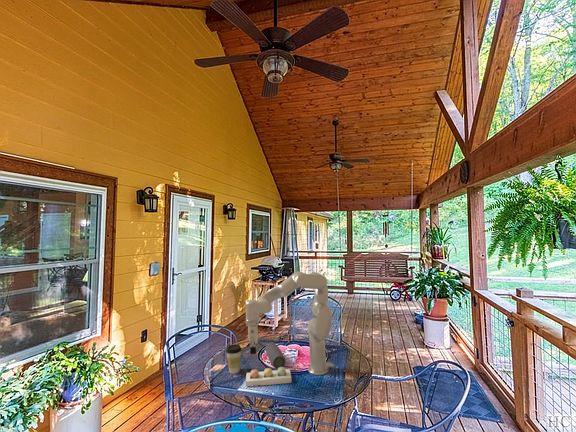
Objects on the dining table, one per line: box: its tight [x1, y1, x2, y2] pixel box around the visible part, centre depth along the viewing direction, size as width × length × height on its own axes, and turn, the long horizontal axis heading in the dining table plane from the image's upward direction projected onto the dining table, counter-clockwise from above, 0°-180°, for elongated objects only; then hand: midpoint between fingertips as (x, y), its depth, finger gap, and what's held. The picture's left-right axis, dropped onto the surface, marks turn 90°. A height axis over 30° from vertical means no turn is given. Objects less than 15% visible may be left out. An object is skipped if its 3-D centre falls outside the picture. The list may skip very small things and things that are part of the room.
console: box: [245, 368, 292, 387], centre depth 177 cm, size 26×10×3 cm, turn 95°
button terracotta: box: [250, 368, 259, 378], centre depth 176 cm, size 4×4×3 cm
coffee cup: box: [225, 344, 243, 375], centre depth 190 cm, size 10×10×15 cm
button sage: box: [277, 366, 286, 376], centre depth 178 cm, size 4×4×3 cm
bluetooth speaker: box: [265, 342, 287, 370], centre depth 198 cm, size 23×9×10 cm, turn 16°
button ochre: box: [263, 367, 273, 377], centre depth 177 cm, size 4×4×3 cm
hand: (253, 353), depth 177 cm, fingers closed
